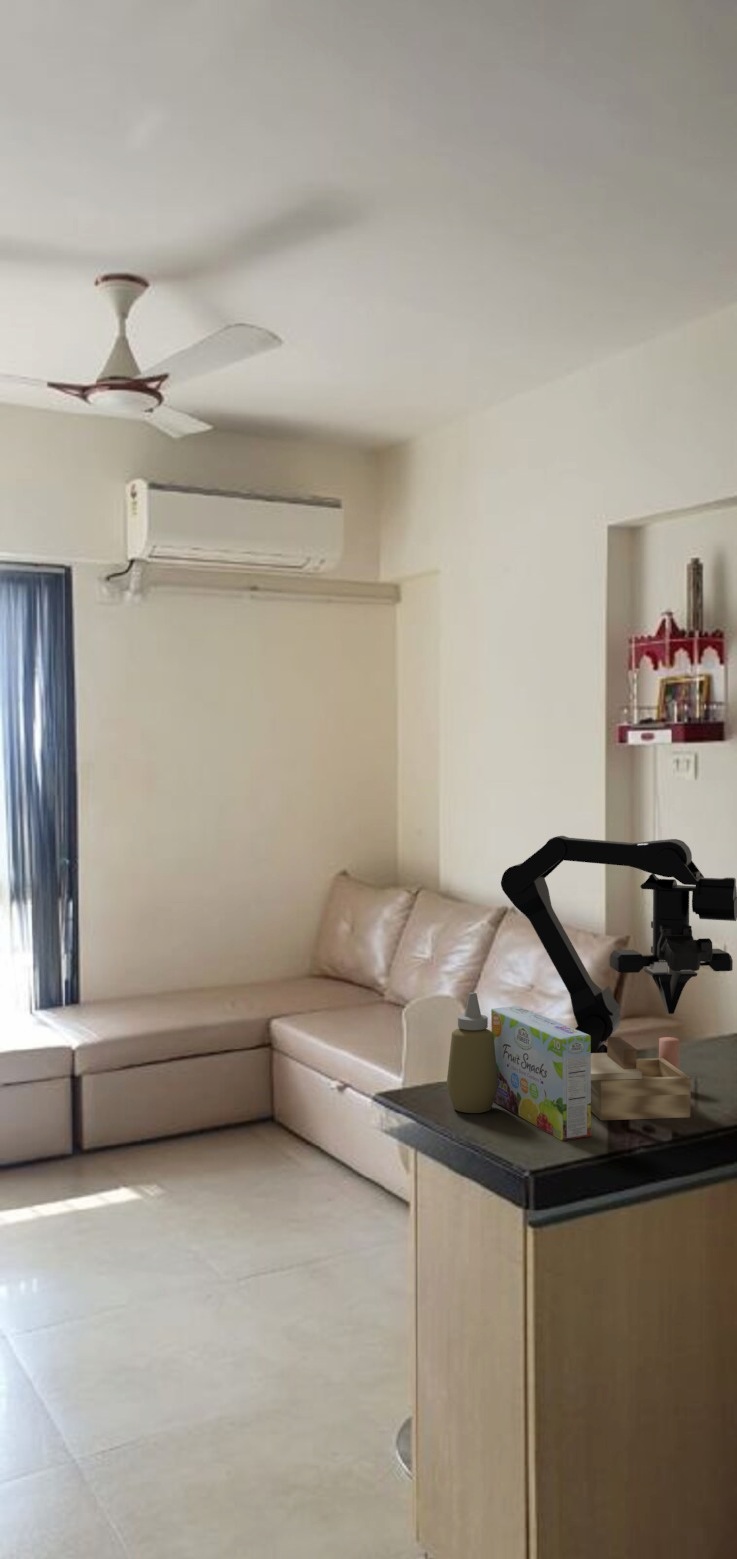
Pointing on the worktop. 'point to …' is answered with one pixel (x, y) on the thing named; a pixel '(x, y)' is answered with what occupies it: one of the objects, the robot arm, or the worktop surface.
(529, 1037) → the snack box
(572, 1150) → the worktop surface
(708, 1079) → the worktop surface
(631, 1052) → the lid
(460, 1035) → the squeeze bottle
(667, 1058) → the key peg
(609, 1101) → the wooden box
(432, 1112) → the worktop surface
